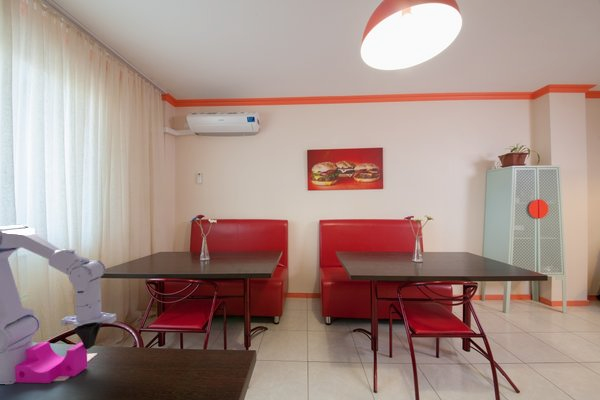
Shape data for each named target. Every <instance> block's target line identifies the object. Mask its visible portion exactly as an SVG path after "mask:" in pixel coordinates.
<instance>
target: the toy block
mask: <svg viewBox="0 0 600 400" xmlns="http://www.w3.org/2000/svg"><path fill="white" fill-rule="evenodd" d="M87 352H88V349H85V347H84V345H83V342H82V341H80V342H78V343H77V344H75V345H73V346H72V347H69V348H68V349H67V350H66V355H65V356H62V355H59V354H57V353H56V352H55V351H54V349H53V348H52V346H51V343H50V341H40V342H38V343H36V344H33V346H32V347H30V348H28V349H26V360H25V361H24V362H22V363H20V364H18V365H16V366H15V383H28V384H30V383H31V384H33V383H36V384H37V383H38V384H51V382H54V381H53V380H54V379H56V378H57V377H59V376H70V377H76V376H77V375H78V374H80V373H81V372H82V371H84V370H85V369H87V368H88V362H87V354H88V353H87Z"/></svg>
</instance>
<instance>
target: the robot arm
mask: <svg viewBox="0 0 600 400" xmlns="http://www.w3.org/2000/svg"><path fill="white" fill-rule="evenodd" d="M21 248H23V249H24V250H26V251H29V252H31V253H33V254H36V255H38V256H41V257H42V258H45V259H47V261H48V265H49V266H50V267H52V268H54V269H56V270H57V271H60V272H61V273H63V274H64V275H66V276H68V277H67V278H68V279H69V282H70V283H71V284H72V288H73V290H74V294H75V296H74V297H75V301H74V302H75V315H68V316H66V317H64V318H62V319H60V326H61V327H64V326H67V325H73V326H74V329H73V333H75V335H77V336H78V337H79V339H80V340H81V342H83V345H84V347H85V349H87V350H90V349H91V348H92V347H93V346H95V344H96V341H97V336H98V333H99V332H100V329H101V328H102V325H103V324H105V323H106V324H107V323H108V324H109V325H110V324H113V323H114V322H116V321H117V313H108V312H102V281H101V279H102V278H101V277H103V276H104V275H105V272H106V266H105V264H104V263H103V262H102V261H100V259H99V260H98V259H94V260H93V259H92V260H91V259H89V258H87V257H84V256H82V255H81V254H78V253H76V250H74V249H72V248H70V249H69V248H64V249H60V248H59V247H57V246H56V245H54V244H52V243H50V241H48V240H46V239H44V238H43V237H41V236H40V235H38V234H37V231H36V229H34V228H32V227H30V226H29V225H27V224H22V223H21V224H14V225H4V226H0V384H5V385H13V384H15V383H16V382H15V366H16V365H18V364H20V363H22V362H24V361H25V360H26V349H28V348H30V347H32V346H34V343H33V342H34V337H36V333H37V332H38V331H39V330H40V328H41V320H40V318H39V317H38V316H37V315H36V313H35V311H34V309H33V308H32V309H31V308H28V307H25V306H24V305H23V303H22V299H21V298H20V294H19V291H18V287H17V284H16V281H15V278H14V275H13V272H12V269H11V265H10V262H9V257H10V256H11V255H12V254H13V253H15V252H16V251H18V250H19V249H21Z"/></svg>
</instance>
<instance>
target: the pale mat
mask: <svg viewBox="0 0 600 400" xmlns="http://www.w3.org/2000/svg"><path fill="white" fill-rule="evenodd" d="M98 354H99V353H98V352H96V353H95V352H94V353H87V363H89V362H90V361H91V360H92V359H94V358H96V357H97V355H98ZM70 377H71V376H59V377H57V378H56V379H54V380H53V381H52V382H61V381H66V380H68V379H69V378H70Z"/></svg>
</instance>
